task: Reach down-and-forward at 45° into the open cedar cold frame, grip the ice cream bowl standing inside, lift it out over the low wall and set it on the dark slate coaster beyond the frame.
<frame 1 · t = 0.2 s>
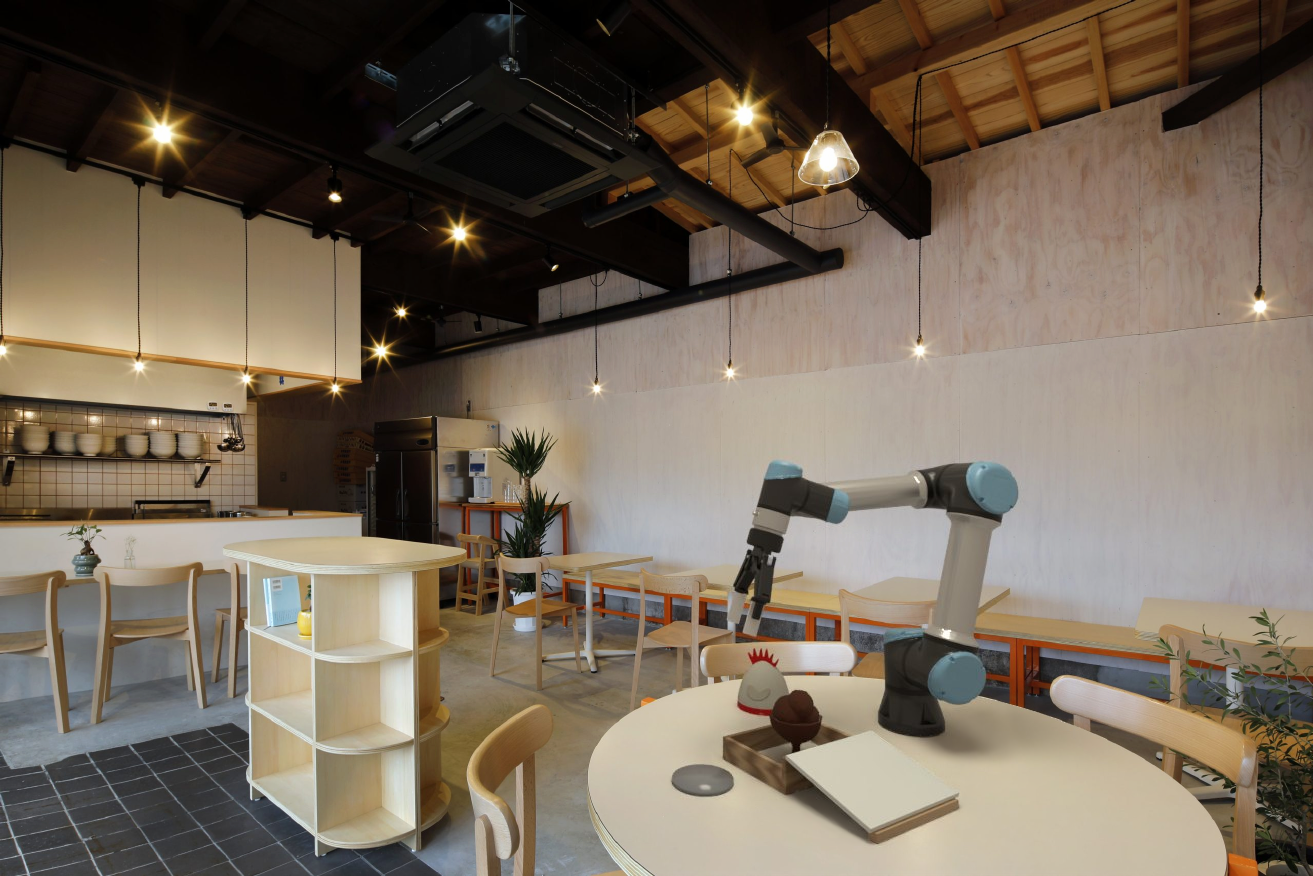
hand: (740, 628, 136), 28 cm above the table, tool tilted 15°, fingers open, 13 cm apart
ice cream bowl: (796, 763, 134), resting in cold frame
cold frame: (796, 762, 134), on the table
coaster: (702, 781, 125), on the table
kitchen timer: (764, 707, 169), on the table
lid: (871, 800, 118), on the table
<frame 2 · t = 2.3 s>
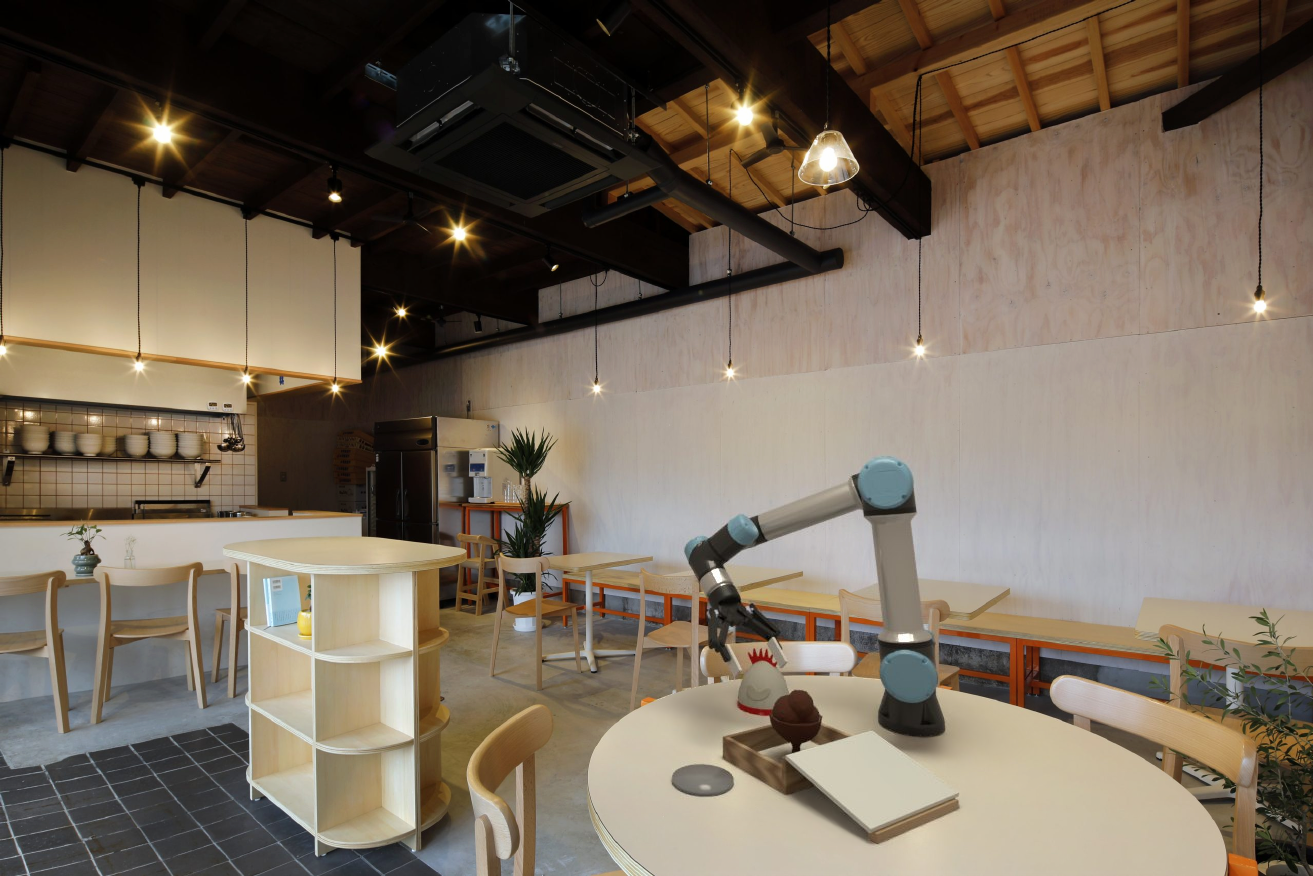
hand: (761, 669, 145), 17 cm above the table, tool tilted 45°, fingers open, 13 cm apart
nothing on the table moved.
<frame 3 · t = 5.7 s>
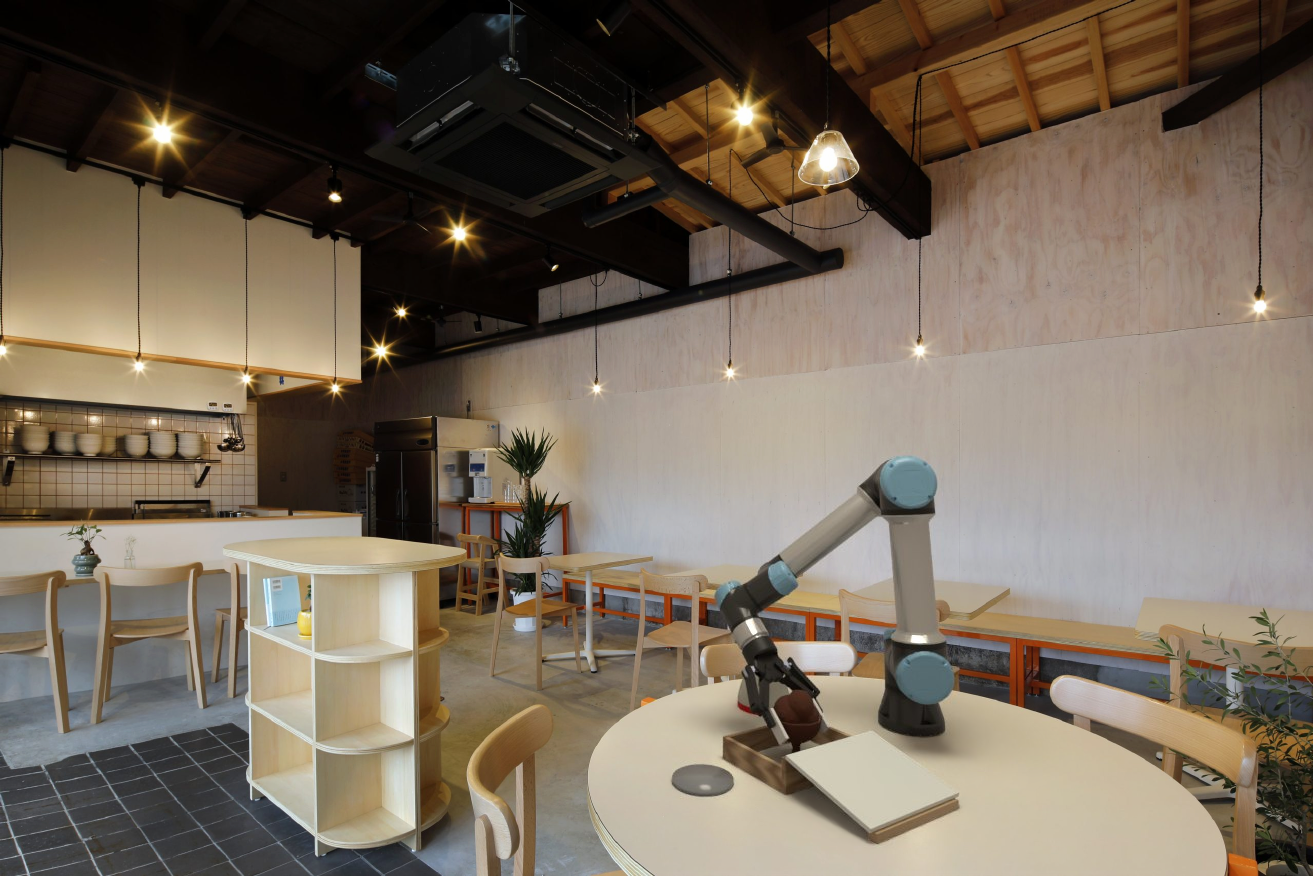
hand: (805, 736, 133), 6 cm above the table, tool tilted 45°, fingers closed on ice cream bowl, 11 cm apart
ice cream bowl: (796, 763, 134), resting in cold frame, touching gripper
everything else where it was.
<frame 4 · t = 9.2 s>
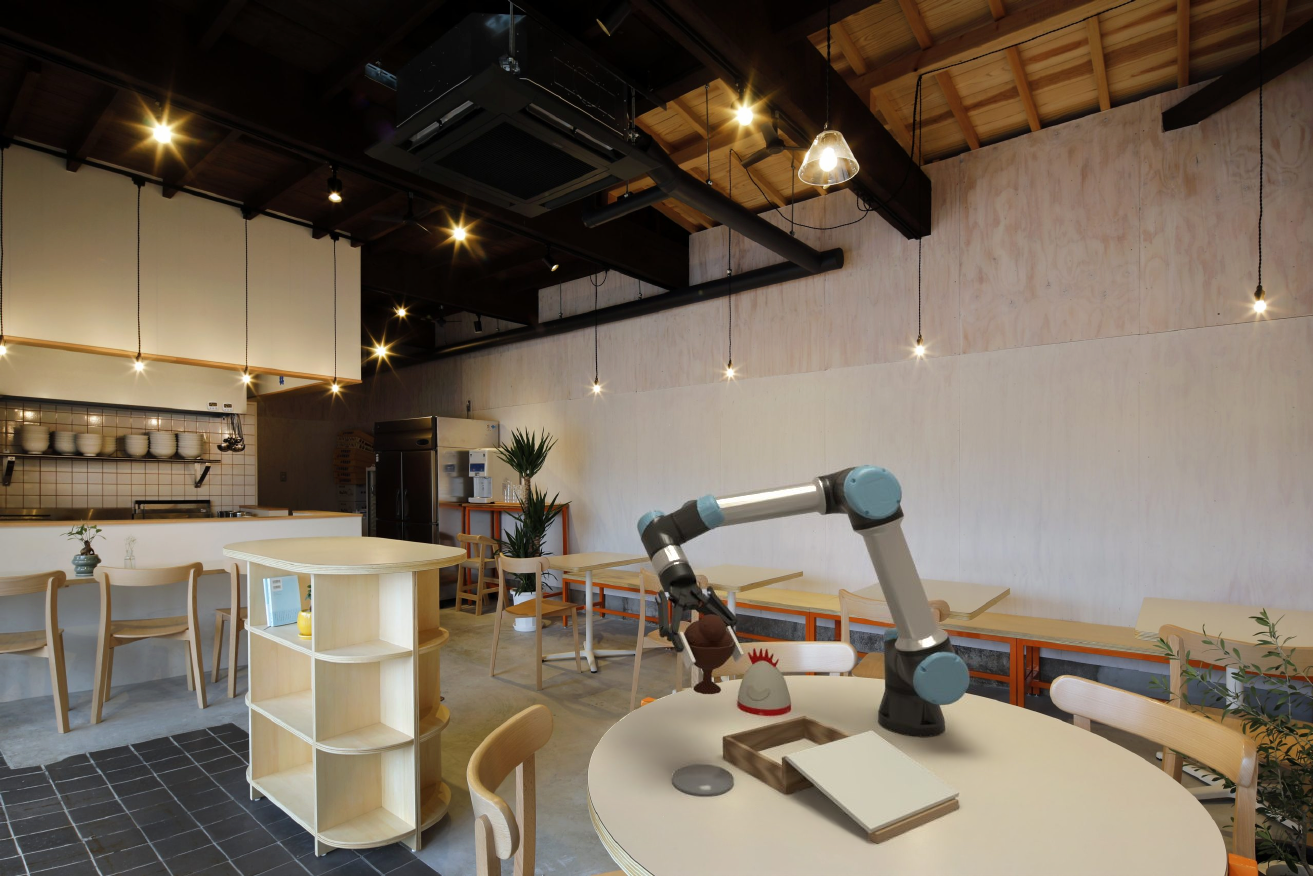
hand: (716, 661, 126), 23 cm above the table, tool tilted 45°, fingers closed on ice cream bowl, 11 cm apart
ice cream bowl: (707, 691, 128), point 17 cm above the table, touching gripper
everything else where it was.
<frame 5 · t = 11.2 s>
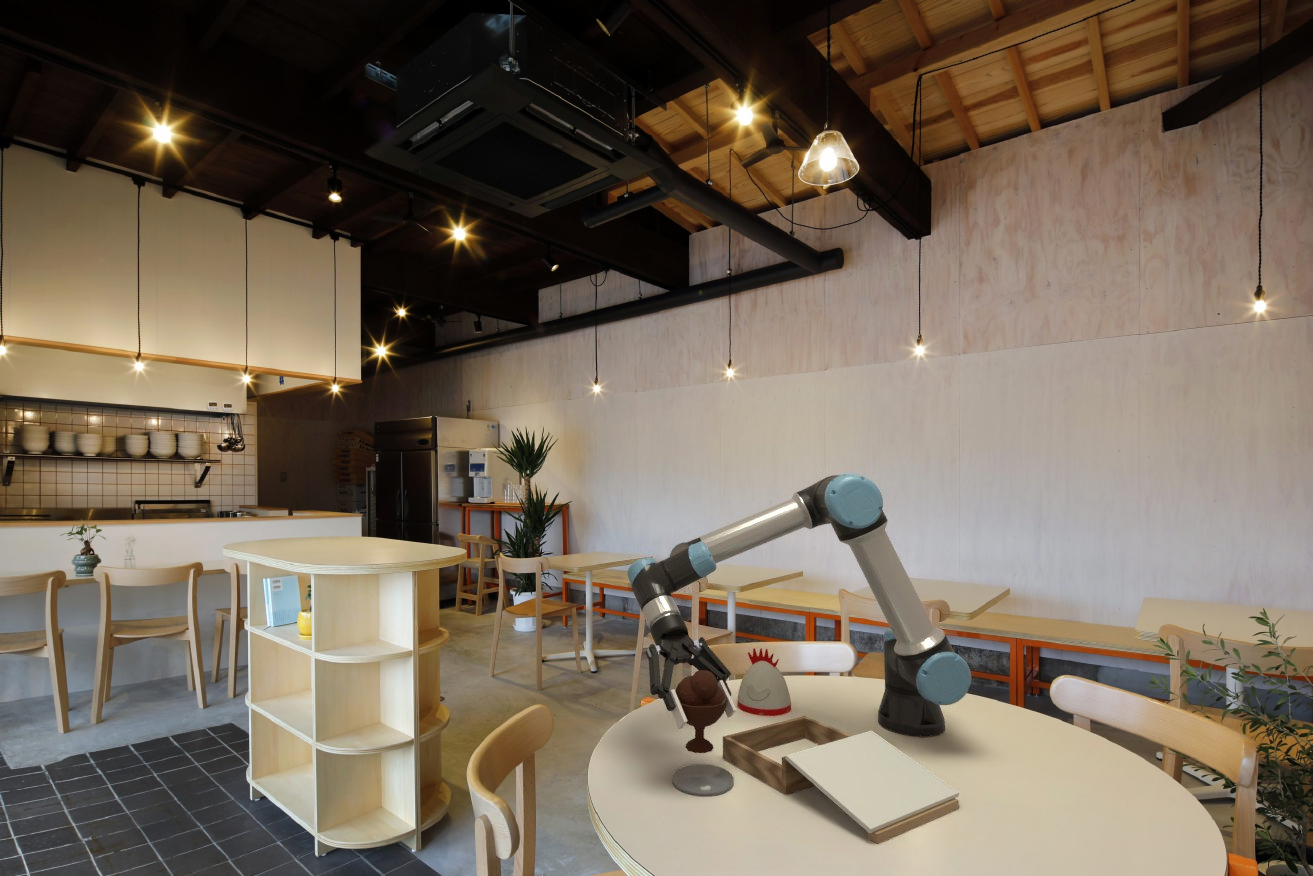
hand: (708, 719, 124), 13 cm above the table, tool tilted 45°, fingers closed on ice cream bowl, 11 cm apart
ice cream bowl: (699, 748, 126), point 6 cm above the table, touching gripper
everything else where it was.
when the fingers open (8 cm above the table, at t = 12.8 s): ice cream bowl stays where it is, resting on coaster.
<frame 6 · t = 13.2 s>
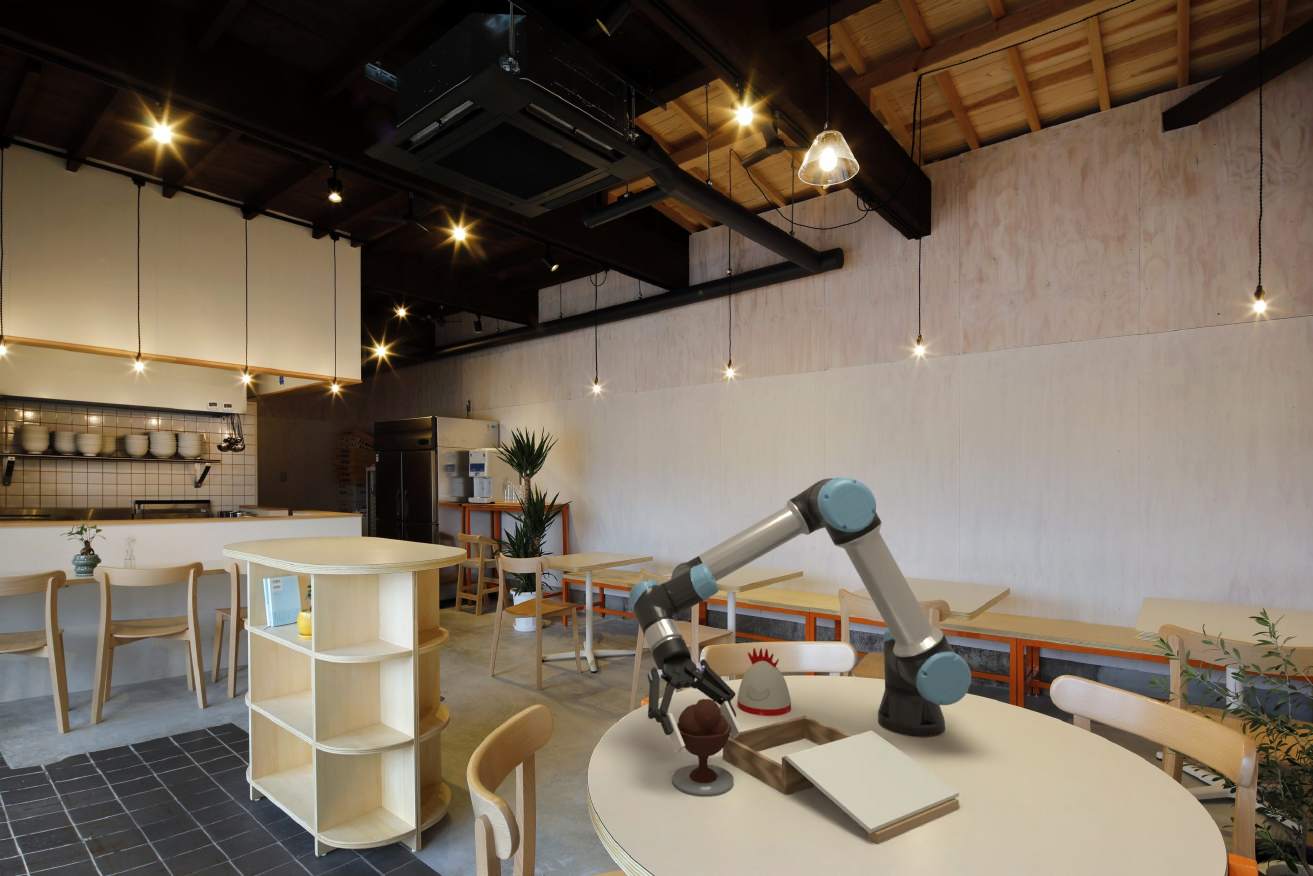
hand: (709, 742, 124), 8 cm above the table, tool tilted 45°, fingers open, 13 cm apart
ice cream bowl: (703, 777, 126), point 1 cm above the table, touching coaster
everything else where it was.
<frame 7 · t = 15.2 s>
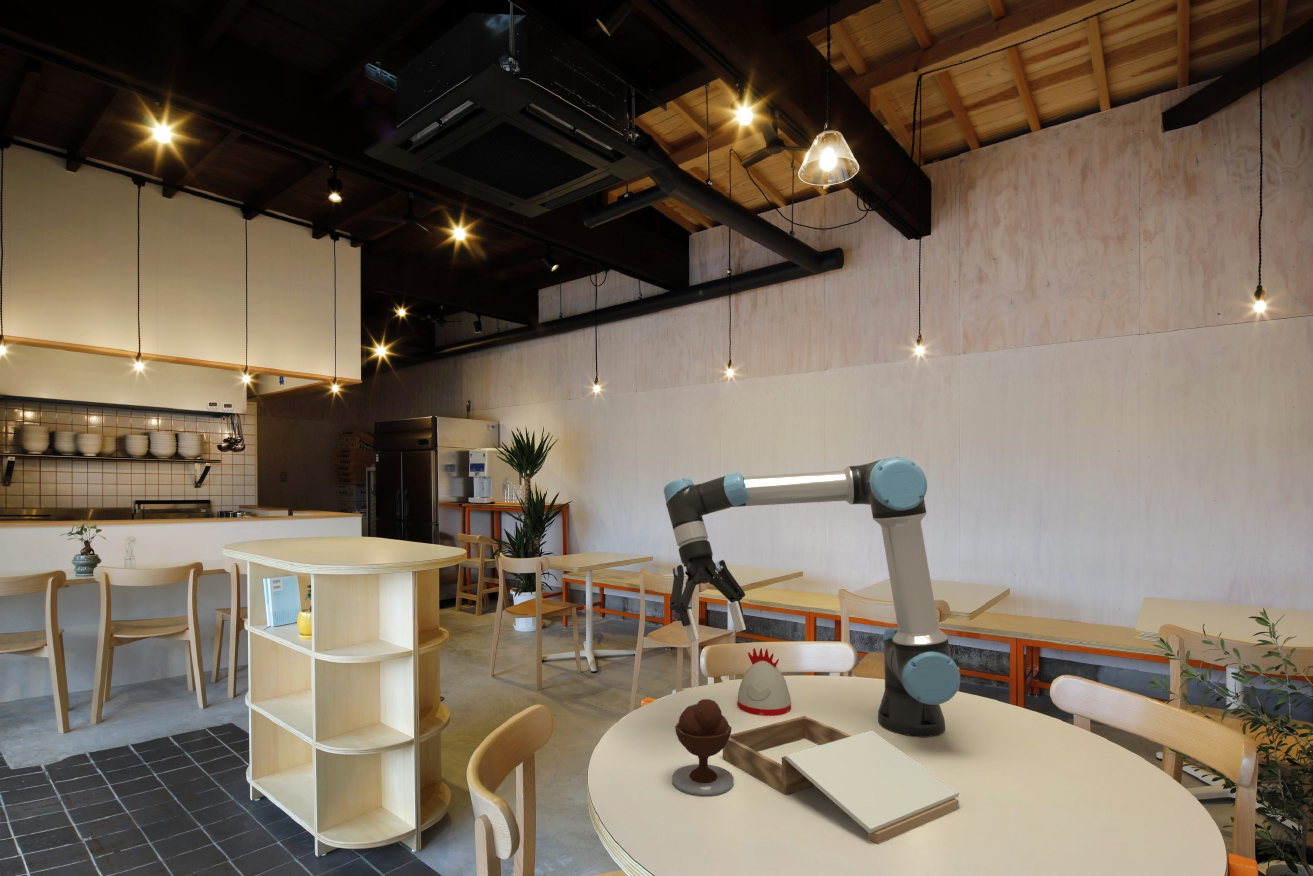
hand: (718, 635, 142), 24 cm above the table, tool tilted 25°, fingers open, 13 cm apart
nothing on the table moved.
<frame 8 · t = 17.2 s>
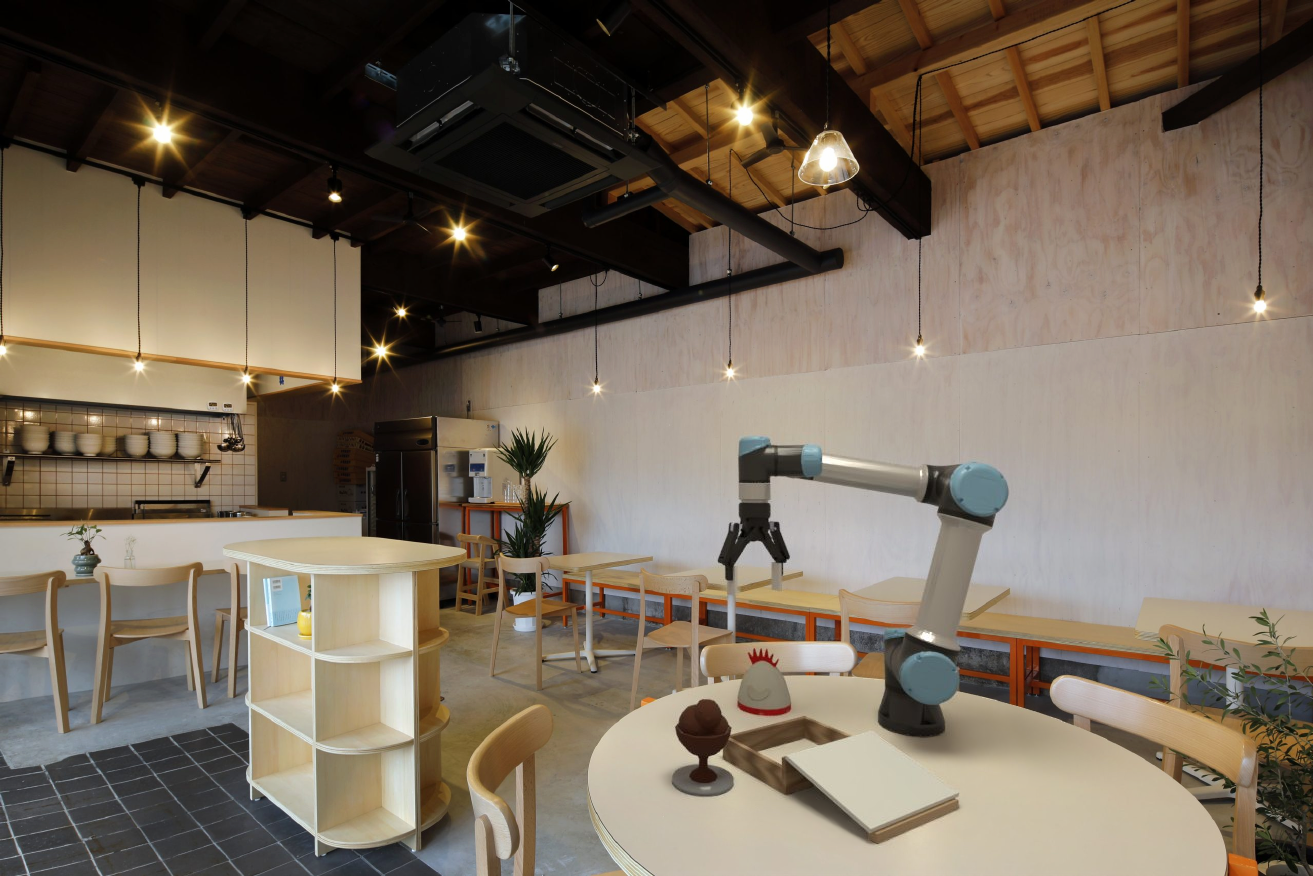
hand: (755, 592, 151), 33 cm above the table, tool pointing down, fingers open, 13 cm apart
nothing on the table moved.
at the end: ice cream bowl 0.3 cm from the coaster (horizontally); ice cream bowl tilted 0°; ice cream bowl point 0.6 cm above the table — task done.
